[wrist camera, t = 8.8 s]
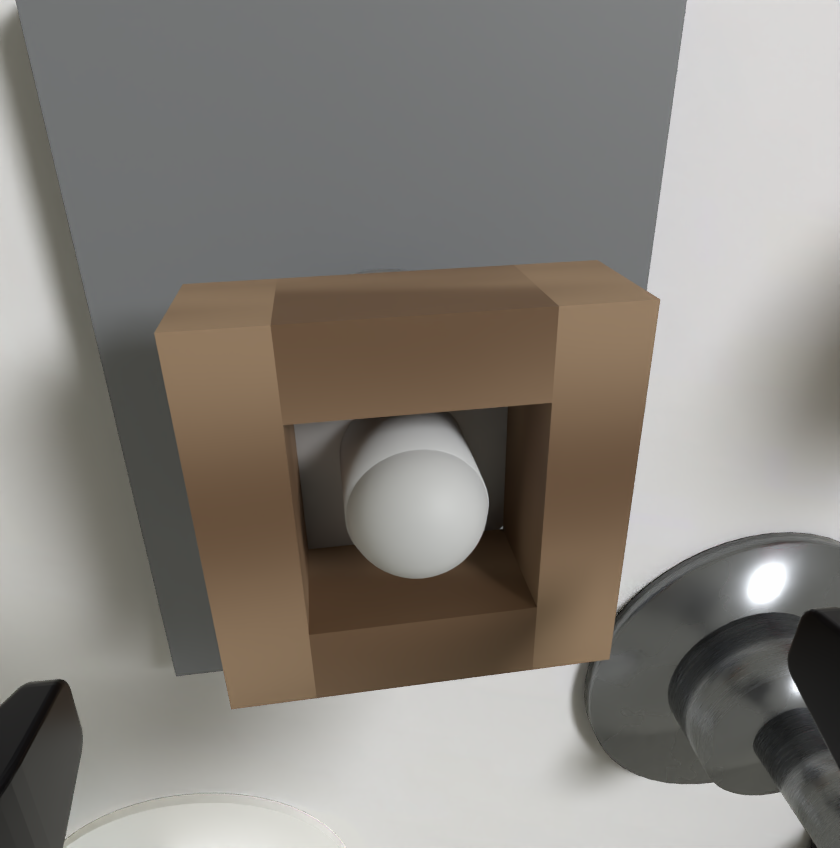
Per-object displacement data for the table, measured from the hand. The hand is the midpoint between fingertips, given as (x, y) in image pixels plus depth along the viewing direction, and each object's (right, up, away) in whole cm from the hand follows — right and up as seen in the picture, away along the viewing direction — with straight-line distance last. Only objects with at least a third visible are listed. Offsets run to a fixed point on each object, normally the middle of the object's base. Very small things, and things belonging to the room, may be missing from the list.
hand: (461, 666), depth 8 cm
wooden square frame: (-1, +2, +5) cm, 5 cm away
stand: (+10, -5, +16) cm, 20 cm away
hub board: (-2, +4, +9) cm, 10 cm away
